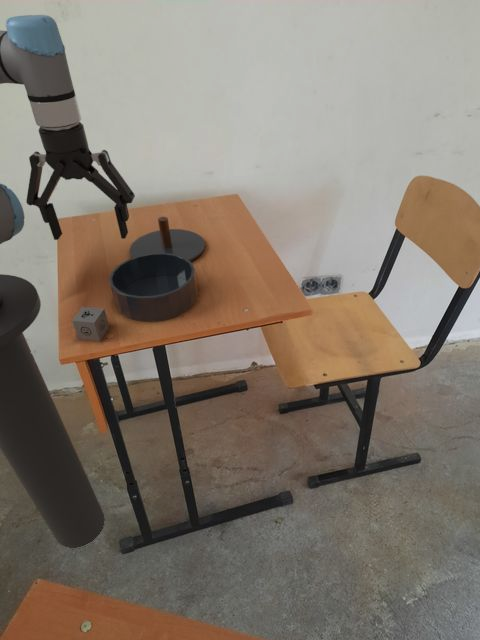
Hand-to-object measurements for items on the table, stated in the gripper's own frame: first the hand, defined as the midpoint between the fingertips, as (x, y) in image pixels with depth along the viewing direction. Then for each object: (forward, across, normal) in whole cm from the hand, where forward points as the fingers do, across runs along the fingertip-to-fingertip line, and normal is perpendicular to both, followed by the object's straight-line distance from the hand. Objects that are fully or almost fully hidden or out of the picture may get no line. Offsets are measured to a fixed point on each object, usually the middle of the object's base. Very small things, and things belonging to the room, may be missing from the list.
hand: (91, 236), depth 96 cm
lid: (+19, -8, -29) cm, 36 cm away
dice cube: (+20, +2, +7) cm, 21 cm away
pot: (+19, -9, -6) cm, 22 cm away
